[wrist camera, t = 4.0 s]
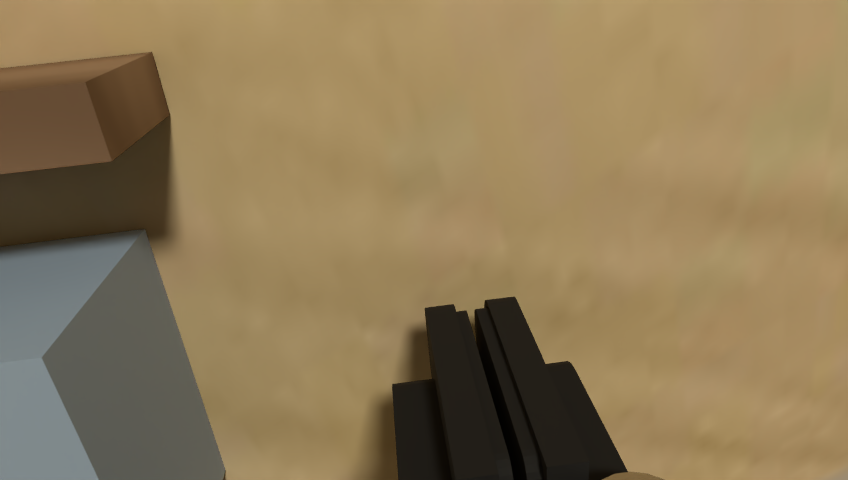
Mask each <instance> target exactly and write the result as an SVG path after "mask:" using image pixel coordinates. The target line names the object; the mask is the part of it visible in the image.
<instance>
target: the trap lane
mask: <svg viewBox="0 0 848 480" xmlns="http://www.w3.org/2000/svg"><path fill="white" fill-rule="evenodd" d="M169 115H170V114H169V111H168V107H167V103H166V100H165V96H164V93H163V89H162V86H161V82H160V79H159V75H158V72H157V68H156V65H155V61H154V58H153V54H152V52H149V53H140V54H131V55H122V56H112V57H103V58H94V59H85V60H75V61H66V62H57V63H47V64H38V65H29V66H20V67H10V68H1V69H0V174H7V173H15V172H24V171H33V170H41V169H50V168H59V167H67V166H76V165H85V164H93V163H102V162H111V161H113V160H114V159H115V158H117V157H118V156H119V155H120V154H122V153H123V152H124V151H125V150H127V149H128V148H129V147H130V146H132V145H133V144H134V143H135V142H136V141H138V140H139V139H140V138H141V137H143V136H144V135H145V134H146V133H148V132H149V131H150V130H151V129H153V128H154V127H155V126H156V125H157V124H159V123H160V122H161V121H162V120H164V119H165V118H166V117H167V116H169Z"/></svg>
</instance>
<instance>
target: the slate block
mask: <svg viewBox="0 0 848 480" xmlns="http://www.w3.org/2000/svg"><path fill="white" fill-rule="evenodd" d="M224 474H225V467H224V464H223V461H222V458H221V455H220V452H219V449H218V446H217V443H216V440H215V437H214V434H213V431H212V428H211V425H210V422H209V419H208V416H207V413H206V410H205V407H204V404H203V401H202V398H201V395H200V392H199V389H198V386H197V383H196V380H195V377H194V374H193V371H192V368H191V365H190V362H189V359H188V356H187V353H186V350H185V347H184V344H183V341H182V338H181V335H180V332H179V329H178V326H177V323H176V320H175V317H174V314H173V311H172V309H171V306H170V303H169V300H168V297H167V294H166V291H165V288H164V285H163V282H162V279H161V276H160V273H159V270H158V267H157V264H156V261H155V258H154V255H153V252H152V249H151V246H150V243H149V240H148V237H147V234H146V231H145V229H141V230H132V231H124V232H116V233H108V234H100V235H92V236H84V237H76V238H68V239H60V240H52V241H44V242H36V243H28V244H20V245H11V246H3V247H0V480H223V478H224Z"/></svg>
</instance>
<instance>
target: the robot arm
mask: <svg viewBox="0 0 848 480" xmlns="http://www.w3.org/2000/svg"><path fill="white" fill-rule="evenodd" d="M425 317H426V327H427V336H428V346H429V356H430V365H431V375H432V379H428V380H420V381H413V382H405V383H397V384H392V390H393V406H394V421H395V435H396V450H397V465H398V480H664V479H662V478H659V477H656V476H653V475H650V474H646V473H637V472H628V471H627V469H626V467H625V465H624V463H623V461H622V460H621V458H620V456H619V454H618V452H617V450H616V448H615V446H614V444H613V442H612V440H611V438H610V436H609V434H608V432H607V430H606V429H605V427H604V425H603V423H602V421H601V419H600V417H599V415H598V413H597V411H596V409H595V407H594V405H593V403H592V401H591V399H590V397H589V396H588V394H587V392H586V390H585V388H584V386H583V384H582V382H581V380H580V378H579V376H578V374H577V372H576V370H575V368H574V367H573V365H572V364H571V363H570V362H568V361H565V362H558V363H550V364H545V362H544V360H543V357H542V355H541V353H540V351H539V348H538V346H537V344H536V342H535V339H534V337H533V335H532V333H531V331H530V328H529V326H528V324H527V322H526V319H525V317H524V315H523V313H522V311H521V308H520V306H519V304H518V302H517V300H516V298H515V297H507V298H499V299H491V300H485V304H484V308H482V309H475V330H476V341H475V338H474V334H473V331H472V328H471V324H470V321H469V317H468V314H467V311H458V312H456V310H455V306H454V304H452V305H444V306H436V307H428V308H425Z"/></svg>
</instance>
